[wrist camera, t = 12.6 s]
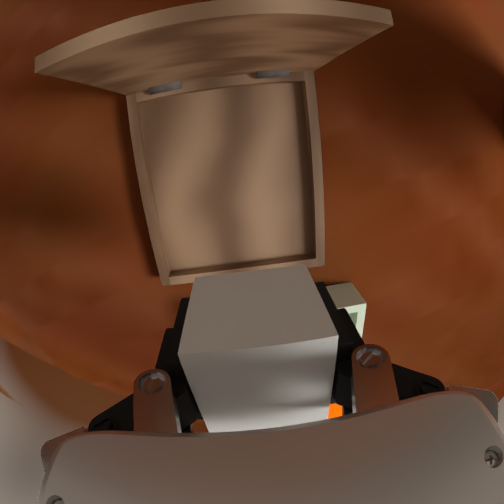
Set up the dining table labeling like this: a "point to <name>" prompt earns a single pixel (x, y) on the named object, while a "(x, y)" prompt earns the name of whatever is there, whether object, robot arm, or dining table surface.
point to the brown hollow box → (224, 123)
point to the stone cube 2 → (259, 349)
